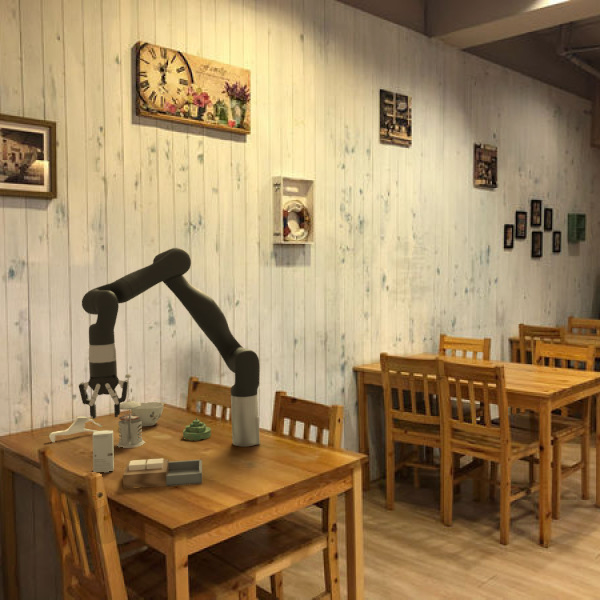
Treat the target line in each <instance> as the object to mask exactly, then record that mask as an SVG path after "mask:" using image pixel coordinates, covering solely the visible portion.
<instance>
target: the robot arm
mask: <svg viewBox="0 0 600 600" xmlns="http://www.w3.org/2000/svg"><path fill="white" fill-rule="evenodd" d="M191 260H192V259H191V256H190V254H189V253H188V251H186V250H185V249H183V248H181V247H172V248H170V249H167V250H165V251H162V252H161V253H158V254H157V255H155V257H154V258H153V260H152V263H151V264H149V265H147V266H145V267H142V268H139V269H137V270H134V271H132V272H130V273H127V274H126V275H124V276H122V277H120V278H118V279H116V280H114V281H112V282H110V283H107V284H104V285H101V286H97V287H95V288H92V289H90V290H89V291H87V292H86V293H85V294H83V297H82V299H81V307H82V309H83V310H84V311H85V312H86V313H87V314H89V315H94V316H95V315H97V318H96V322H95V323H92V324H91V325H89V327H88V344H89V345H88V367H89V379H88V381H86V382H80V383H79V384H78V389H79V394H80V397H81V401H82V404H83V405H88V406H89V415H90V417H92V419H93V420H94V419H96V418H97V406H96V405H97V404H96V400H97V398H98V396H103V395H106V396H108V395H109V396H110V398H111V399H112V400H113V401H112V402H113V403H114V404H113V409H114V418H119V416H120V413H121V409H120V404H121V403H123V402H126V399H127V395H128V379H127V380H126V379H125V380H123V379H122V380H120V379H119V378H118V377H119V376H118V368H117V366H118V363H117V350H116V344H115V343H116V342H115V341H116V340H115V326H116V323H117V318H118V312H119V307H120V306H119V304H124V303H127V302H129V301H131V300H133V299H134V298H136V297H137V296H139V295H141V294H143V293H145V292H146V291H148V290H150V289H151V288H153V287H155V286H156V285H158V284H160V283H164V285H165V286H166V287H167V288H168V289H169V290H170V291H171V292H172V293H173V294H174V296H175V297H176V298H177V299H178V300H179V302H180V303H181V304H182V307H184V308H185V309H186V311H187V312H188V314H189V315H190V316H191V318H192V319H193V321H194V322H195V323H196V325H197V326H198V327H199V329H200V330H201V331H202V332H203V333H204V335H205V336H206V337H207V338H208V339H209V341H210V342H211V343H212V344H213V346H214V347H215V348H216V350H217V351H218V353H219V355H220V356H221V358H222V359H223V361H224V363H225V365H226V367H227V368H228V369H229V371H231V372H232V373H234V384H233V385H232V386H231V387H230V406H231V407H230V409H231V410H230V411H231V412H230V413H231V434H232V435H231V436H232V437H231V438H232V441H231V442H232V445H233V446H236V447H250V446H251V447H252V446H255V445H260V444H261V443H260V417H259V407H258V406H259V403H258V402H259V401H258V400H259V399H258V397H259V396H258V389H259V386H260V359H259V356H258V354H257V353H256V351H254V350H252V349H249V348H244V347H243V346H242V345H241V344H240V342H239V341H238V340H237V339H236V338H235V336H234V335H233V333H232V332H231V330H230V327H229V325H228V321H227V318H226V316H225V314H224V313H223V311H222V310H221V308H220V307H219V305H218V304H217V303H216V301H215V300H214V298H212V297H211V296H210V295H208V294H207V293H205V292H204V291H201V290H200V289H198V288H197V287H195V286H194V285H192V284H191V283H190V282H189V281H188V280H187V279H186V277H185V276H184V275H185V274H187V273H188V271H189V270H190V269H191V267H192V261H191ZM118 385H119V386H120V389H122V391H121V397H119V395H118V393H117V391H116V388H117V387H118ZM88 386H89V387H90V388H91V390H92V391H93V392H92V395H91V398H90V399H89V398H88V393H87V390H88V389H89V387H88Z"/></svg>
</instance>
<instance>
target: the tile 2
mask: <svg viewBox="0 0 600 600" xmlns="http://www.w3.org/2000/svg"><path fill="white" fill-rule="evenodd" d="M163 459H164V457H162V458H150V459H147V460H146V461H147V469H157V468H163V464H164V462H163Z"/></svg>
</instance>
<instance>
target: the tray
mask: <svg viewBox="0 0 600 600" xmlns="http://www.w3.org/2000/svg"><path fill="white" fill-rule="evenodd" d="M166 482H167V486H166V487H175V486H188V485H189V484H190V485H200V484H201V485H202V484H203V459H190V460H176V461H175V460H174V461H169V473H168V475H166Z"/></svg>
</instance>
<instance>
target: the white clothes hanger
mask: <svg viewBox="0 0 600 600" xmlns="http://www.w3.org/2000/svg"><path fill="white" fill-rule="evenodd" d="M89 422H91V423H93V424H94V425H96V426H98V428H102V427H103V424H101V423H98V422H95V420H94V419H93V418H89V417H87V416H76V417H75V419H74V421H73V422H72V423H71V425H70V426H69V427H68V428H66V429H65V430H58V431H53V432H50V433H49V435H48V436H49V437H48V438H49V439H50V441H51V442H52V443H55V441H56V439H57V438H56V436H69V435H74V434H77V433H84V432H91V433H93V432H94V431H97V430H96V429H88V428H85V427H86V424H87V423H89Z"/></svg>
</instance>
